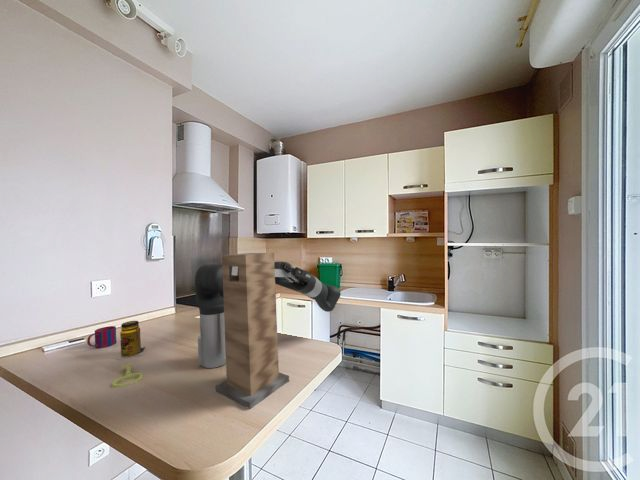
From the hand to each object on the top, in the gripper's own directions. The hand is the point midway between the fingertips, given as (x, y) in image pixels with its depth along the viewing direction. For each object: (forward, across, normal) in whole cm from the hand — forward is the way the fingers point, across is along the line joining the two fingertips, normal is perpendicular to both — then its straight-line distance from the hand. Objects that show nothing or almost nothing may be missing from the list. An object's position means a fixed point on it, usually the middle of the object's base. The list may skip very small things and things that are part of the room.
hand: (278, 264), depth 79 cm
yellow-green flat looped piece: (+8, -38, +43) cm, 58 cm away
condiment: (+1, -58, +39) cm, 70 cm away
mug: (+5, -78, +41) cm, 88 cm away
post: (-7, 0, +34) cm, 35 cm away
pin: (+2, 0, +5) cm, 6 cm away
